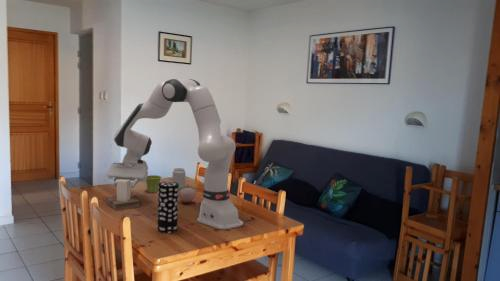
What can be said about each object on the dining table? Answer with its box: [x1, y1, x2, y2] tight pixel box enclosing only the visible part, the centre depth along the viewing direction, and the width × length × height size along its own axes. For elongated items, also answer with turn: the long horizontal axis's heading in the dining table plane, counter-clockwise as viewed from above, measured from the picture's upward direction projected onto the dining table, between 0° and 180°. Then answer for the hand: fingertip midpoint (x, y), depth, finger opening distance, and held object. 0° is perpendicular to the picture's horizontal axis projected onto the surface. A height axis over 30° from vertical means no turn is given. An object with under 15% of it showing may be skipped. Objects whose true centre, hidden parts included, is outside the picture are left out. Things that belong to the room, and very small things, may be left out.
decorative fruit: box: [178, 184, 197, 204], centre depth 213 cm, size 9×8×10 cm
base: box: [106, 195, 141, 211], centre depth 203 cm, size 12×12×3 cm
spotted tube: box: [156, 181, 179, 234], centre depth 172 cm, size 8×8×20 cm
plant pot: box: [145, 174, 162, 194], centre depth 233 cm, size 9×9×9 cm
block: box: [116, 179, 132, 201], centre depth 203 cm, size 5×5×10 cm
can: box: [171, 167, 186, 190], centre depth 243 cm, size 8×8×12 cm
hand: (123, 186), depth 202 cm, fingers open, 8 cm apart
